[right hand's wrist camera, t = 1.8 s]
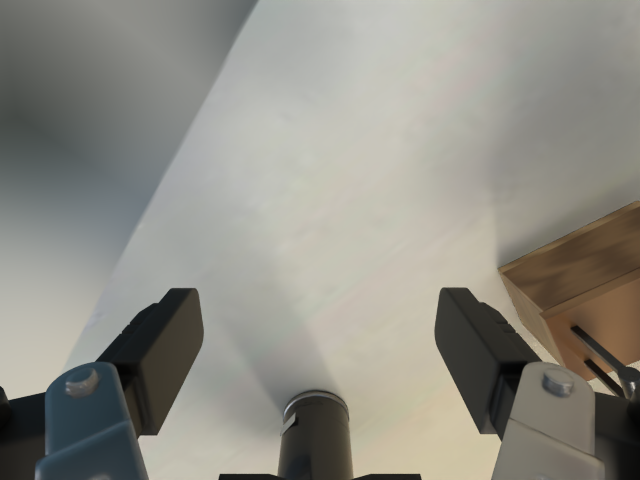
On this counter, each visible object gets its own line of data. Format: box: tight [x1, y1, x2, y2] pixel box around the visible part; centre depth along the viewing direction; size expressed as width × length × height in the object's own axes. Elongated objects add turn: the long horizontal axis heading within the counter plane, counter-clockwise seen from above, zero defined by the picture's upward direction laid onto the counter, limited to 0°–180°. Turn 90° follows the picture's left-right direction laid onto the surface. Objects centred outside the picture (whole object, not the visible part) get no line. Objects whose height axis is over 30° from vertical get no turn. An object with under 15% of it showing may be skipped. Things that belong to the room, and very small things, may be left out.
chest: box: [498, 201, 640, 365], centre depth 37 cm, size 16×9×9 cm, turn 121°
